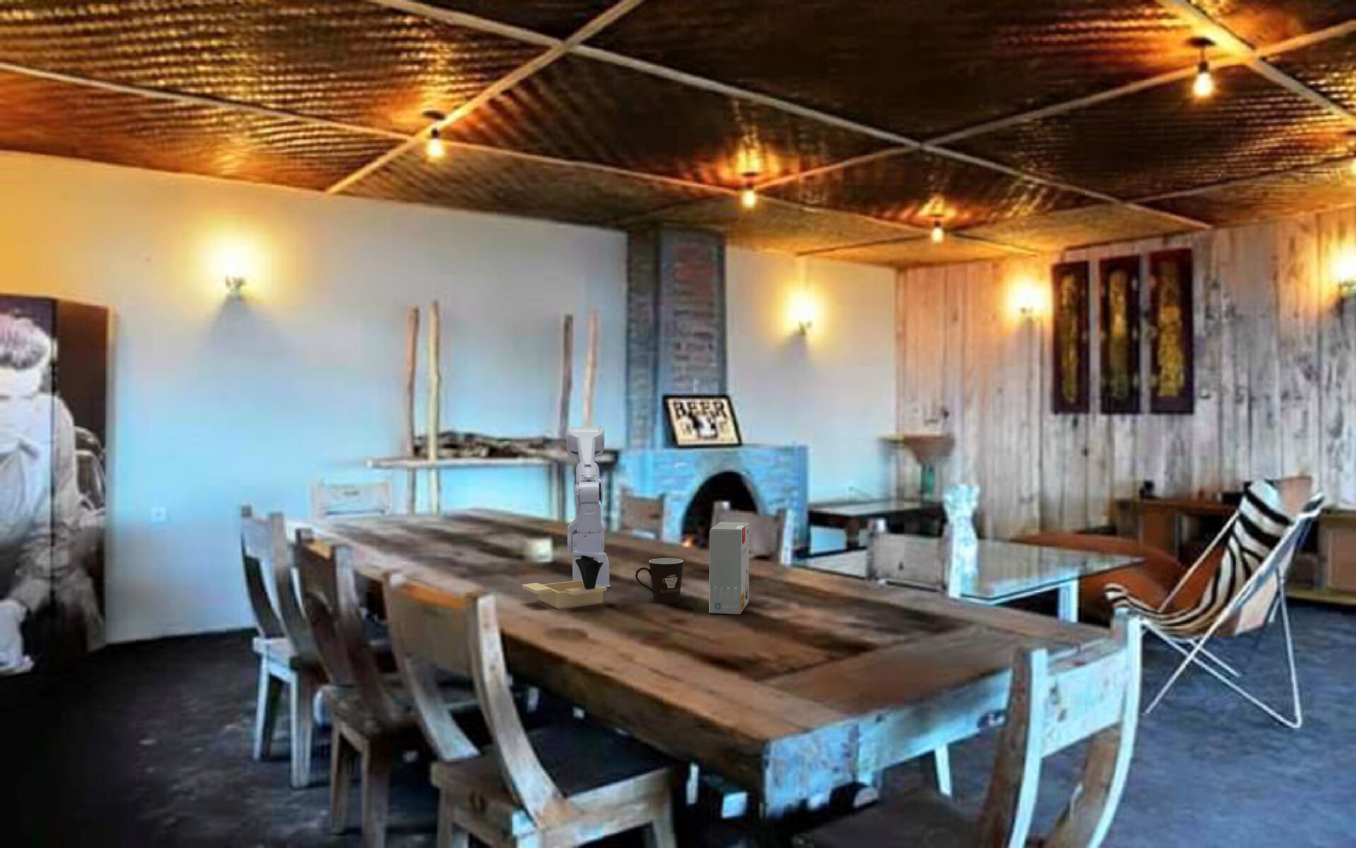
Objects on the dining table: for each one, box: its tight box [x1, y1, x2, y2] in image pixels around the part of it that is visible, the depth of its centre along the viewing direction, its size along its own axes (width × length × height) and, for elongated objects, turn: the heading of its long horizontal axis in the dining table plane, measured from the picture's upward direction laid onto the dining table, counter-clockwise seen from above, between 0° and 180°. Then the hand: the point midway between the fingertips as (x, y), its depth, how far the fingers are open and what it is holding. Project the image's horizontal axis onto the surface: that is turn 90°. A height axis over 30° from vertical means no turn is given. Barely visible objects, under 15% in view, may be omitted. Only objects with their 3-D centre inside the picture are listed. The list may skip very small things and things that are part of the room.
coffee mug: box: [634, 557, 684, 605], centre depth 235 cm, size 12×9×10 cm
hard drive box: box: [708, 521, 750, 615], centre depth 227 cm, size 16×8×20 cm, turn 168°
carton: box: [538, 580, 604, 610], centre depth 234 cm, size 12×12×4 cm
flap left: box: [566, 585, 608, 595], centre depth 227 cm, size 9×4×1 cm, turn 121°
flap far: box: [521, 582, 552, 595], centre depth 230 cm, size 4×9×1 cm, turn 31°
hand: (589, 588), depth 225 cm, fingers closed
